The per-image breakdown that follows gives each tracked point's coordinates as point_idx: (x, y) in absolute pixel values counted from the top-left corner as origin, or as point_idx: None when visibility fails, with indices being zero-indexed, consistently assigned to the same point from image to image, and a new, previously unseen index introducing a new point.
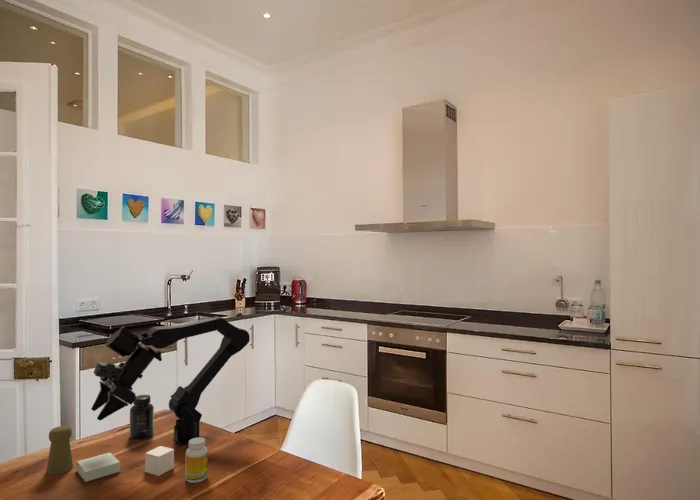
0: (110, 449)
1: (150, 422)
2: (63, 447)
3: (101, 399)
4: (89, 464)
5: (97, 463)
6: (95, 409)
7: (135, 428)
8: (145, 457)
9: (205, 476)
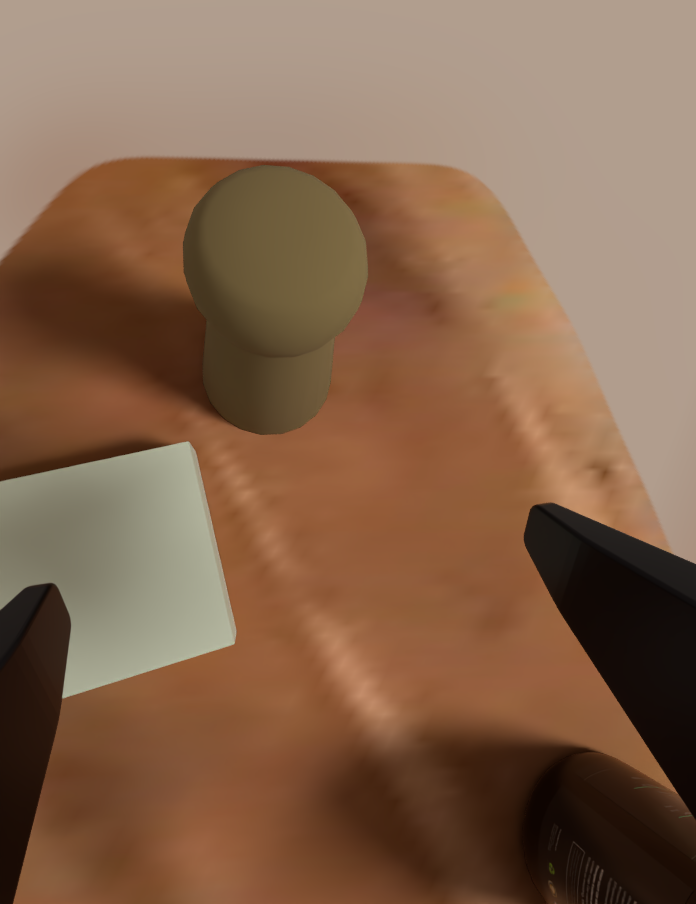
0: (430, 631)
1: None
2: (212, 329)
3: (666, 657)
4: (84, 514)
5: (70, 563)
6: (535, 553)
7: (576, 831)
8: None
9: None
